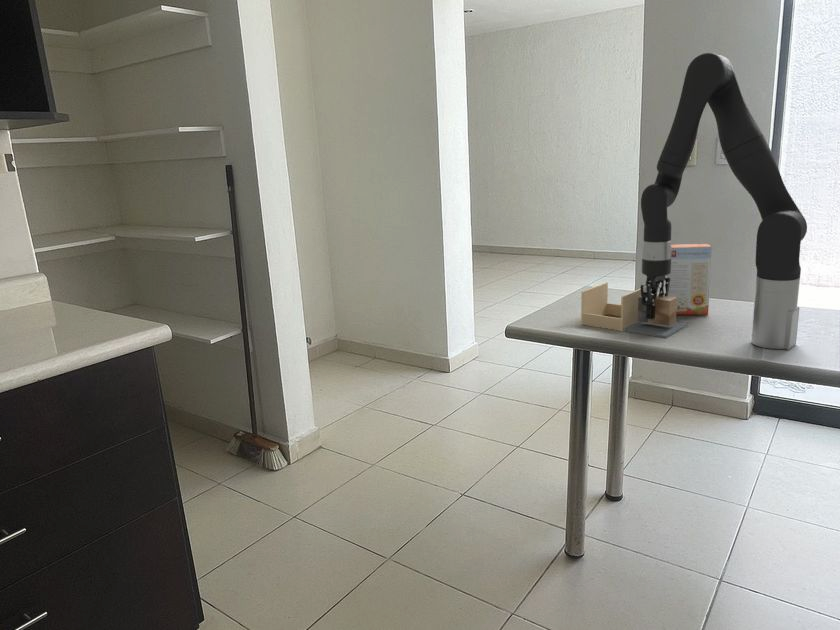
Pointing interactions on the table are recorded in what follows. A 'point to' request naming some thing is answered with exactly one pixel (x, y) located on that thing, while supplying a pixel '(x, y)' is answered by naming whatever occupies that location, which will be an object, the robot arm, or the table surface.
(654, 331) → the rubber mat
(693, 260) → the cracker box
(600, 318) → the open wooden box
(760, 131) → the robot arm
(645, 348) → the table surface
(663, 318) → the box
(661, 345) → the table surface
